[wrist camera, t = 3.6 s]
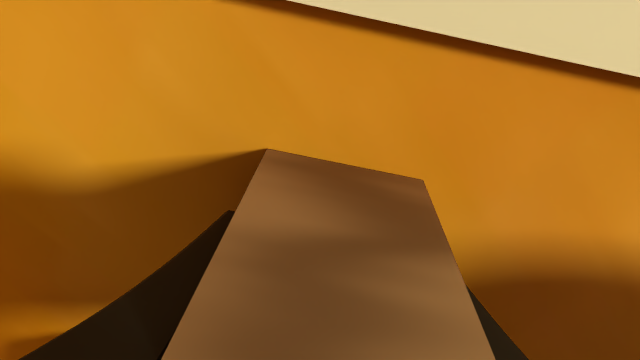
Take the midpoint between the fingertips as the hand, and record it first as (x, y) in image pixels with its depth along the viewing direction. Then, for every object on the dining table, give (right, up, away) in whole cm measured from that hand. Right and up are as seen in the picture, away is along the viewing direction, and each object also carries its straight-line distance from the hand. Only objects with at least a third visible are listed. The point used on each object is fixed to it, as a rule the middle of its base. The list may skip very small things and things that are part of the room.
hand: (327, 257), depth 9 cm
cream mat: (+8, +11, -6) cm, 15 cm away
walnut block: (0, +1, +1) cm, 1 cm away
